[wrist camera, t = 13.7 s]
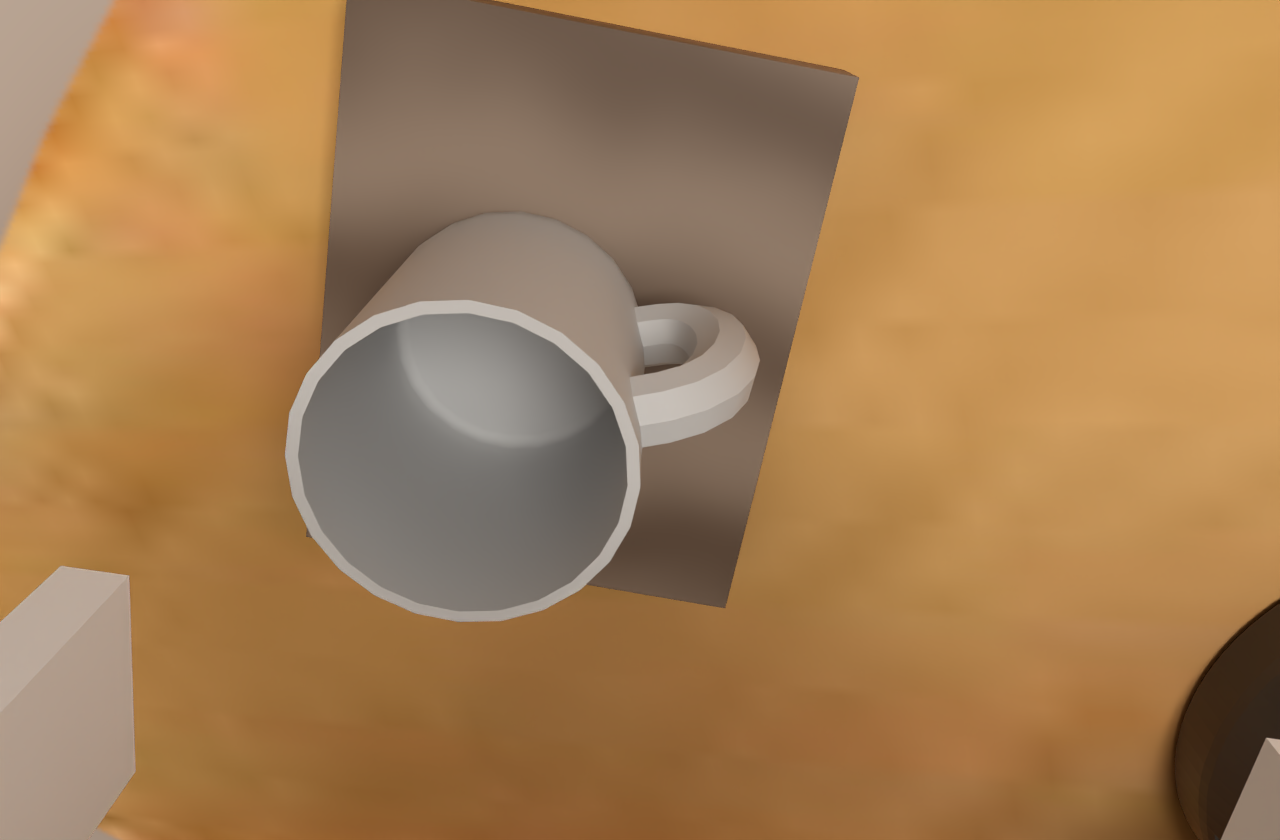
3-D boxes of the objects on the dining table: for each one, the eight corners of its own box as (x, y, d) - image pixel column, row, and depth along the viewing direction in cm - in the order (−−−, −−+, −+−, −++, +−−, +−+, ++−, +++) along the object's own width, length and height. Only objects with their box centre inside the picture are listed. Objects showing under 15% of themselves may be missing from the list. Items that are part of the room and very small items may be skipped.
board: (721, 567, 36) (725, 608, 33) (329, 499, 35) (306, 536, 33) (843, 70, 30) (858, 77, 27) (374, -24, 29) (348, -24, 27)
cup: (357, 230, 29) (237, 330, 21) (725, 167, 28) (753, 246, 20) (422, 469, 32) (340, 643, 23) (760, 418, 31) (797, 579, 23)
